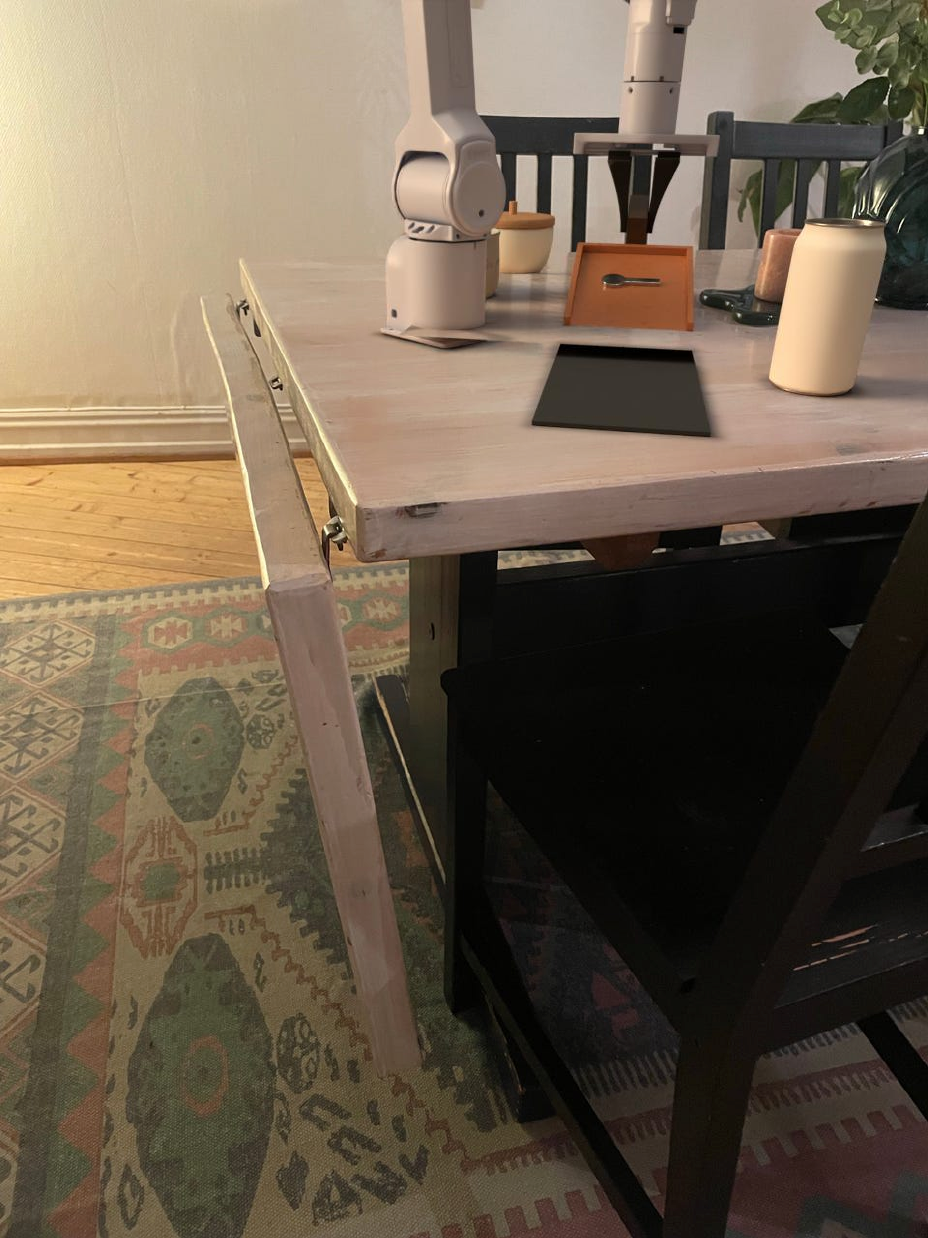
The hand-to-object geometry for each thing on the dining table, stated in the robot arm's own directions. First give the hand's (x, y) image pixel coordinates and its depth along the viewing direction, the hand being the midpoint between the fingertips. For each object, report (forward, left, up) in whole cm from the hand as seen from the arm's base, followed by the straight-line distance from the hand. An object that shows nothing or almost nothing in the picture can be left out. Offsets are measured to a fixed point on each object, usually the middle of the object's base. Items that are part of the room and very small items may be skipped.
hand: (636, 232), depth 92 cm
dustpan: (+4, -5, -4) cm, 8 cm away
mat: (+19, -26, -8) cm, 33 cm away
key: (+5, -7, -4) cm, 10 cm away
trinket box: (-23, +5, -8) cm, 24 cm away
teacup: (-15, -13, -8) cm, 21 cm away
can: (+29, -15, -8) cm, 34 cm away
